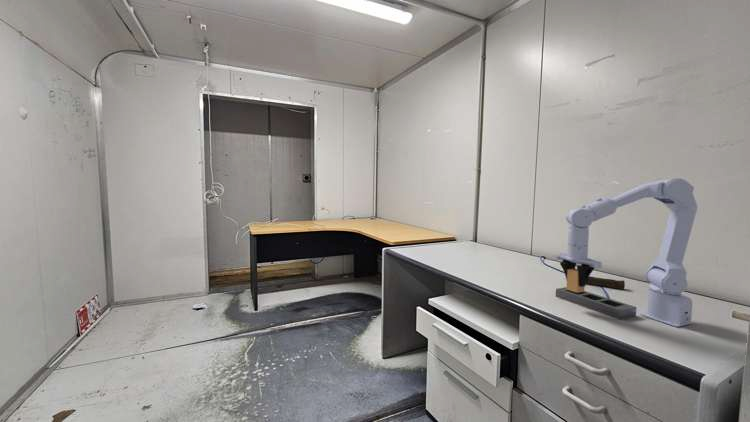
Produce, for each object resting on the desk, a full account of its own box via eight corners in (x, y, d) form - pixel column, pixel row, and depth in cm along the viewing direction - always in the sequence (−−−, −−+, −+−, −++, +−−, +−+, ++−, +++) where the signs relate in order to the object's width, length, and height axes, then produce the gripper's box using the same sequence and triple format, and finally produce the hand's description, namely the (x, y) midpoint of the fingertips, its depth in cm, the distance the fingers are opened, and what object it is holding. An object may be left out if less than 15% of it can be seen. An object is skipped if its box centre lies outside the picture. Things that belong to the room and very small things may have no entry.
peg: (584, 291, 100) (585, 271, 100) (576, 292, 99) (577, 271, 99) (573, 288, 104) (574, 268, 103) (566, 289, 103) (567, 269, 102)
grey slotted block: (635, 316, 96) (636, 307, 96) (619, 319, 93) (620, 310, 93) (570, 294, 117) (570, 286, 117) (555, 296, 114) (555, 288, 114)
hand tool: (624, 289, 124) (624, 278, 124) (624, 291, 121) (625, 280, 121) (570, 280, 136) (570, 270, 135) (569, 282, 133) (569, 272, 132)
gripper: (549, 242, 106) (548, 279, 107) (591, 249, 92) (589, 292, 93) (563, 240, 108) (562, 277, 109) (606, 248, 95) (604, 289, 96)
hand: (575, 284), depth 101 cm, fingers closed on peg, 4 cm apart
